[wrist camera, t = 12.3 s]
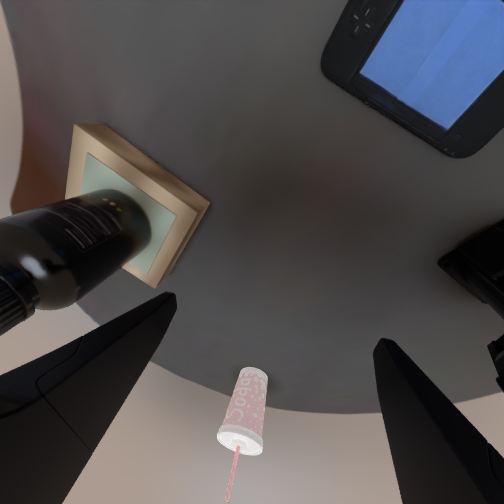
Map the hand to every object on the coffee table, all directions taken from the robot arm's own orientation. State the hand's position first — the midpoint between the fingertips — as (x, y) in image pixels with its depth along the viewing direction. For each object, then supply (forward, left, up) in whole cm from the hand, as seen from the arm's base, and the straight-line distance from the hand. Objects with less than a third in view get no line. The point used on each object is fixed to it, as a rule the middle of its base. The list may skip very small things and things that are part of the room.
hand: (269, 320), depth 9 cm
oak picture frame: (+13, +10, -13) cm, 21 cm away
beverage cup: (-13, +25, -13) cm, 31 cm away
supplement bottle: (+13, +10, -10) cm, 19 cm away
